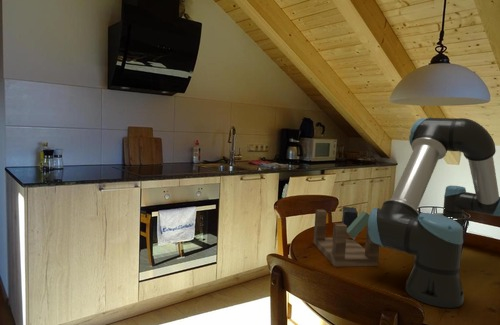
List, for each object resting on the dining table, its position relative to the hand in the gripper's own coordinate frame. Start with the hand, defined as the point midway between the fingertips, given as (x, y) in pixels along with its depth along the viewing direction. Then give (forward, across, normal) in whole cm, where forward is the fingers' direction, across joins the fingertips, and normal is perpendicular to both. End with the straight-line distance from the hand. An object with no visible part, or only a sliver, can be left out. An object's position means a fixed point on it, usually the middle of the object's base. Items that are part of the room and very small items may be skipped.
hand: (379, 221), depth 147 cm
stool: (+19, -10, -10) cm, 24 cm away
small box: (+4, +20, -10) cm, 23 cm away
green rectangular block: (+13, 0, -6) cm, 14 cm away
